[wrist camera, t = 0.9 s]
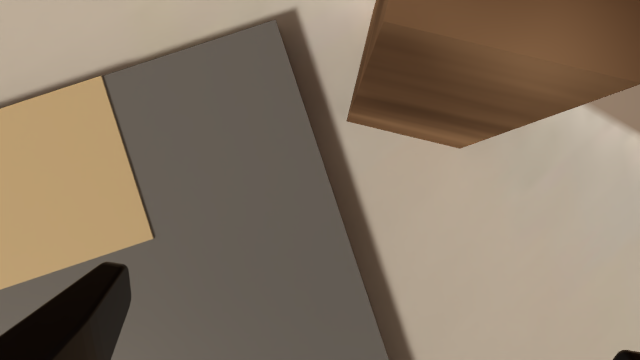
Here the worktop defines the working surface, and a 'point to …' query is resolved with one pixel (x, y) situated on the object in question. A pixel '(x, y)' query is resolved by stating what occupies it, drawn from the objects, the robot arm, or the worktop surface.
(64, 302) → the robot arm
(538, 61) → the walnut post
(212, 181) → the baseplate
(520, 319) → the worktop surface
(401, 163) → the worktop surface
